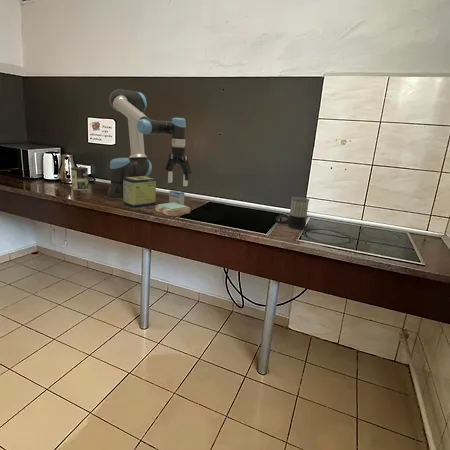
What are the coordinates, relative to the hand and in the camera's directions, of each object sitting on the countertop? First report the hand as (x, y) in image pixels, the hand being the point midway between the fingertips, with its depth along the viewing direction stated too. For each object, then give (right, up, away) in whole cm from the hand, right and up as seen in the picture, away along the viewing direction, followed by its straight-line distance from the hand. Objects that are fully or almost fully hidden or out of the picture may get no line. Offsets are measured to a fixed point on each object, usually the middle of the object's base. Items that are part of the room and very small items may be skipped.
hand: (177, 184), depth 192 cm
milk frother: (+62, -24, -18) cm, 68 cm away
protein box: (-22, -12, +1) cm, 25 cm away
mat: (-1, -14, -11) cm, 18 cm away
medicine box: (-1, -13, +4) cm, 13 cm away
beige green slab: (-1, -16, -10) cm, 20 cm away
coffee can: (-70, 0, +30) cm, 76 cm away
